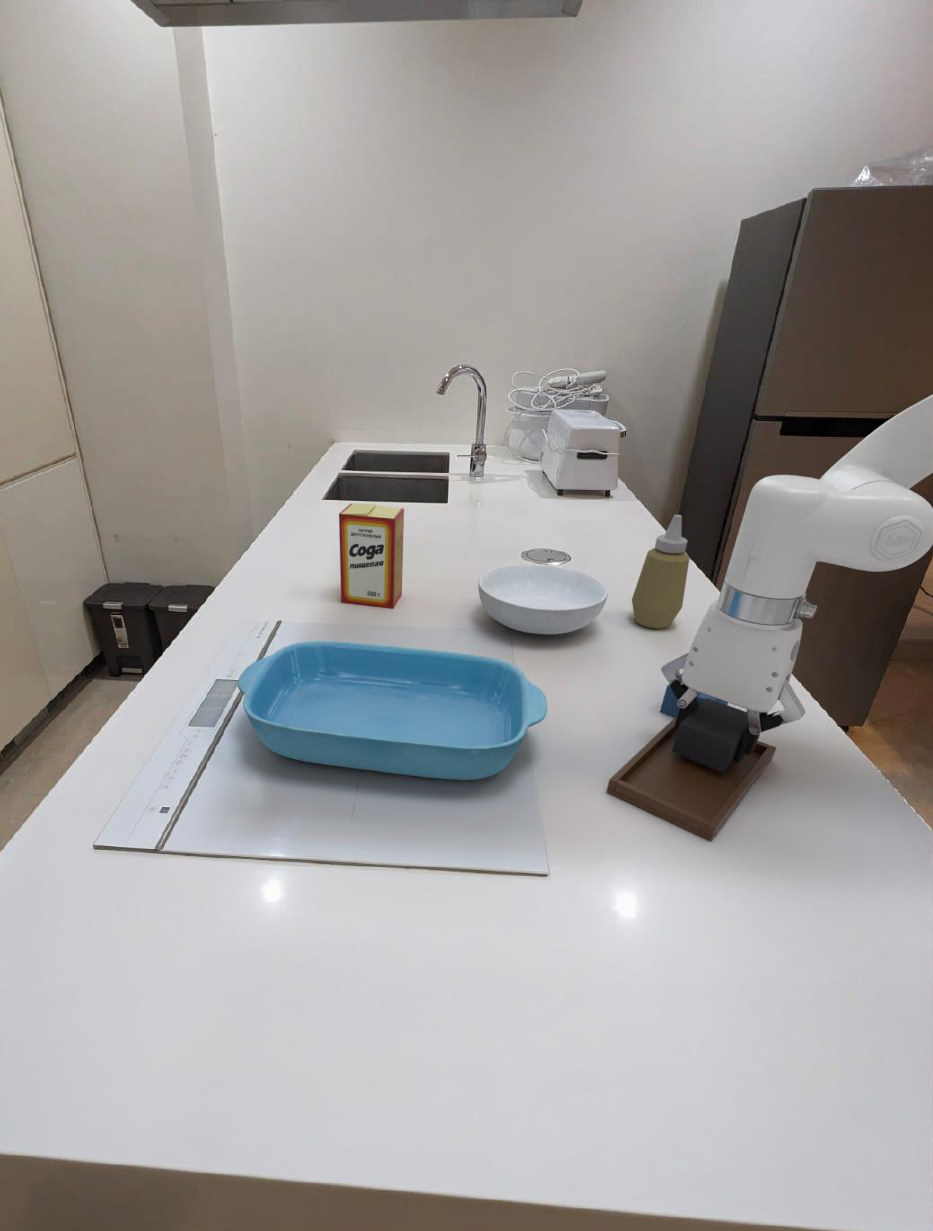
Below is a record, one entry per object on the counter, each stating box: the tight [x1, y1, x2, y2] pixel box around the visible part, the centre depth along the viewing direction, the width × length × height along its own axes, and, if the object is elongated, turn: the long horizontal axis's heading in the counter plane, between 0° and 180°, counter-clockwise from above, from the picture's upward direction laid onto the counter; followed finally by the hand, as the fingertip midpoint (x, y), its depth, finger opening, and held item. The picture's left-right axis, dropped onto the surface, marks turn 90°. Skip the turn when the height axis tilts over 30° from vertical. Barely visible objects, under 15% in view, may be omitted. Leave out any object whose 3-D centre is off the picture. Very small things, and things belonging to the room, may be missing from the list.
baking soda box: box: [338, 503, 405, 609], centre depth 116 cm, size 10×6×16 cm
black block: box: [672, 698, 748, 773], centre depth 79 cm, size 6×8×4 cm
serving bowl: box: [477, 563, 609, 635], centre depth 111 cm, size 21×21×7 cm
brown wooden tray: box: [606, 715, 777, 842], centre depth 77 cm, size 12×20×2 cm, turn 138°
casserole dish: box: [237, 640, 548, 781], centre depth 82 cm, size 37×22×7 cm, turn 81°
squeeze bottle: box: [631, 514, 690, 629], centre depth 109 cm, size 8×8×18 cm
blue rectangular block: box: [659, 672, 729, 718], centre depth 89 cm, size 6×8×4 cm
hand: (711, 743), depth 79 cm, fingers closed on black block, 6 cm apart
